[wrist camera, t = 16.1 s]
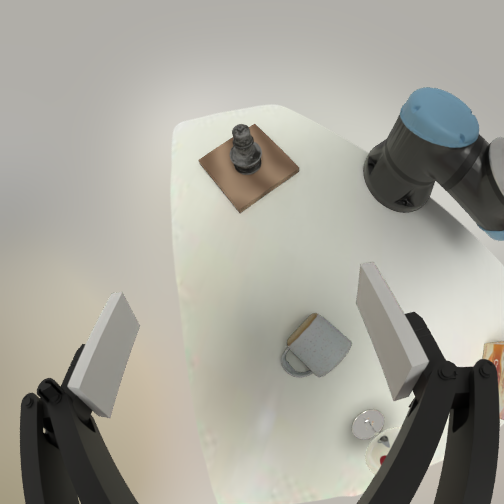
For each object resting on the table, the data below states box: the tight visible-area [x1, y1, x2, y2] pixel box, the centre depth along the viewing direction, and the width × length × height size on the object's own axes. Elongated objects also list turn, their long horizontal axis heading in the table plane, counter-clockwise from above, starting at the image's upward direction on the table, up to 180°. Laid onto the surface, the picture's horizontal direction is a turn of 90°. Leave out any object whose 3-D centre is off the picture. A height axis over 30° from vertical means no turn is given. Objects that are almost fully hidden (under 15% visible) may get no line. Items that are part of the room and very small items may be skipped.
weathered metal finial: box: [230, 124, 262, 175], centre depth 45 cm, size 6×6×12 cm
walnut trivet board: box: [198, 124, 299, 213], centre depth 52 cm, size 14×14×2 cm
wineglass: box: [352, 410, 401, 475], centre depth 31 cm, size 8×8×18 cm
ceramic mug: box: [281, 313, 352, 377], centre depth 41 cm, size 11×8×8 cm
